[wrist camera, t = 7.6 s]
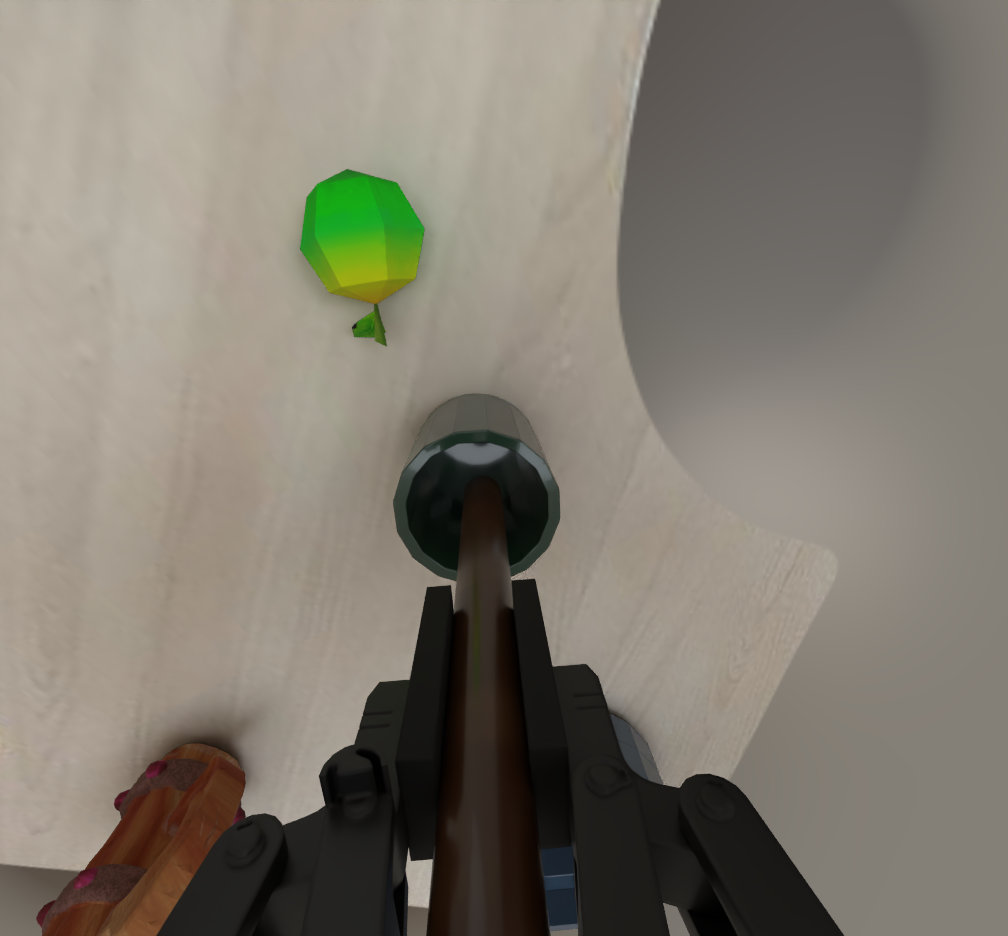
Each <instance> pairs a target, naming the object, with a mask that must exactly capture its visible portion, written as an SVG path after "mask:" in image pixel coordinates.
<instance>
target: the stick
mask: <svg viewBox="0 0 1008 936" xmlns="http://www.w3.org/2000/svg"><path fill="white" fill-rule="evenodd" d="M426 936H550V926H549V917H548V908H547V899H546V890H545V881H544V872H543V863H542V854H541V845H540V836H539V827H538V818H537V809H536V800H535V795H534V792H533V790H532V780H531V771H530V762H529V752H528V743H527V733H526V724H525V715H524V705H523V696H522V687H521V677H520V668H519V658H518V649H517V640H516V630H515V621H514V611H513V597H512V583H511V574H510V565H509V556H508V547H507V538H506V529H505V520H504V511H503V502H502V493H501V488H500V486H499V484H498V483H497V482H496V481H495V480H494V479H492V478H490V477H487V476H479V477H475V478H473V479H472V480H470V481H469V482H468V483H467V485H466V487H465V490H464V498H463V510H462V522H461V534H460V546H459V557H458V569H457V581H456V593H455V604H454V620H453V632H452V644H451V656H450V668H449V680H448V692H447V704H446V716H445V728H444V740H443V752H442V764H441V776H440V788H439V799H438V805H437V816H436V828H435V840H434V852H433V863H432V875H431V887H430V899H429V912H428V923H427V934H426Z"/></svg>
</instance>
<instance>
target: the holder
mask: <svg viewBox="0 0 1008 936" xmlns="http://www.w3.org/2000/svg"><path fill="white" fill-rule="evenodd" d="M479 476H487V477H490V478H492V479H494V480H495V481H496V482H497V483H498V484H499V486H500V488H501V493H502V502H503V511H504V520H505V529H506V538H507V547H508V556H509V565H510V574H511V576H514V575H516V574H518V573H520V572H522V571H525V570H526V569H527V568H529V567H530V566H531V565H532V564H533V563H534V562H535V561H536V560H537V559H538V558H539V557H540V556H541V555H542V554H543V553H544V552H545V551H546V550H547V549H548V547H549V546H550V543H551V541H552V538H553V536H554V534H555V531H556V529H557V526H558V524H559V521H560V494H559V487H558V485H557V483H556V480H555V478H554V476H553V473H552V471H551V469H550V467H549V464H548V462H547V460H546V457H545V455H544V453H543V451H542V448H541V446H540V444H539V441H538V439H537V437H536V435H535V433H534V431H533V429H532V427H531V425H530V423H529V421H528V419H527V418H526V417H525V416H524V415H523V413H522V412H521V411H520V410H518V409H517V408H516V407H515V406H514V405H512V404H511V403H509V402H507V401H505V400H504V399H501V398H499V397H496V396H492V395H487V394H467V395H462V396H458V397H455V398H453V399H451V400H449V401H447V402H445V403H443V404H442V405H441V406H439V407H438V408H437V409H436V410H435V411H434V412H433V413H432V414H431V415H430V416H429V417H428V419H427V420H426V422H425V423H424V424H423V426H422V427H421V429H420V432H419V434H418V436H417V439H416V441H415V443H414V445H413V448H412V450H411V452H410V455H409V457H408V459H407V462H406V464H405V466H404V469H403V471H402V473H401V477H400V480H399V483H398V487H397V490H396V493H395V497H394V500H393V501H394V502H393V505H394V513H395V520H396V527H397V532H398V534H399V536H400V537H401V539H402V541H403V542H404V544H405V546H406V547H407V549H408V550H409V552H410V554H411V555H412V557H413V558H414V559H415V560H417V561H418V562H419V563H421V564H422V565H423V566H425V567H426V568H428V569H429V570H430V571H432V572H433V573H434V574H436V575H437V576H439V577H443V578H446V579H450V580H454V581H457V569H458V557H459V546H460V534H461V522H462V510H463V498H464V490H465V487H466V485H467V483H468V482H469V481H470V480H472V479H473V478H475V477H479Z"/></svg>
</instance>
